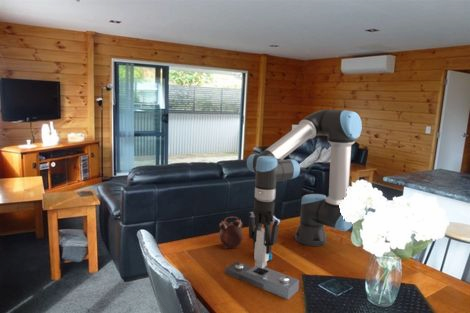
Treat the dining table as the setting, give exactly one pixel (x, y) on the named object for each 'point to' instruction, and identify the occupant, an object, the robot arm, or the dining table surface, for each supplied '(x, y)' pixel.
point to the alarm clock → (231, 233)
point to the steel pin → (260, 248)
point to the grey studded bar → (265, 279)
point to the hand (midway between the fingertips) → (261, 259)
